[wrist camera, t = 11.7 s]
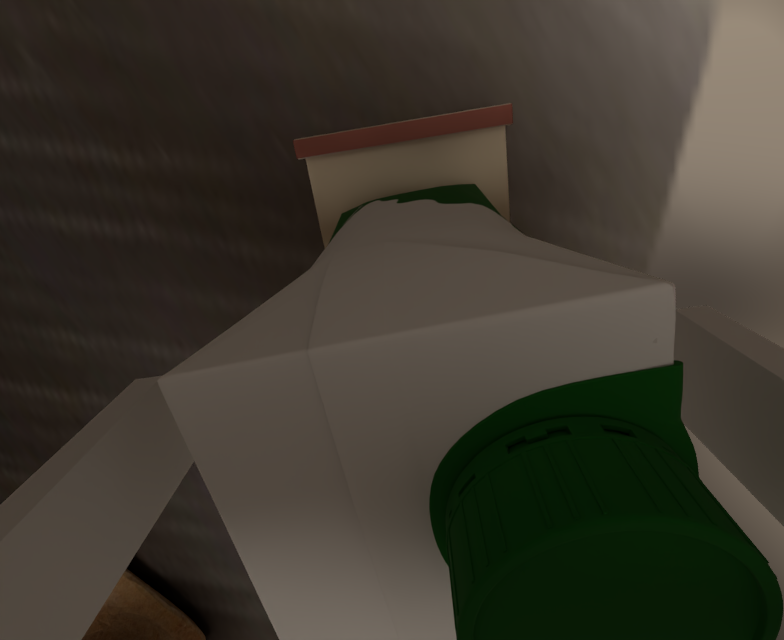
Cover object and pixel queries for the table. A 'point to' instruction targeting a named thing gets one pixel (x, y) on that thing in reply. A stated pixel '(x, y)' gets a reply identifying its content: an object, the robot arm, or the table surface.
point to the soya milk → (466, 443)
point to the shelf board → (408, 160)
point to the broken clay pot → (140, 615)
